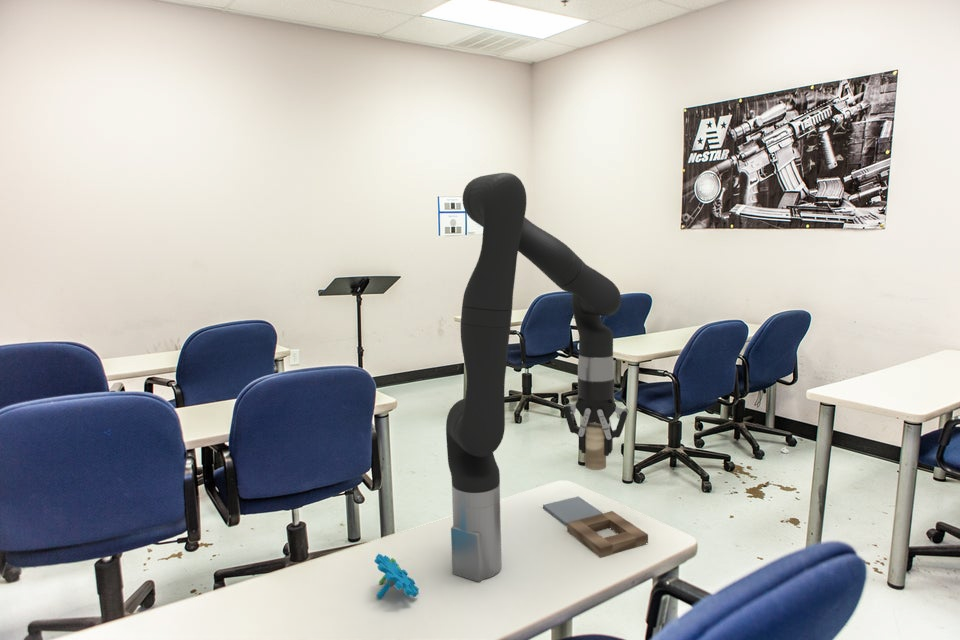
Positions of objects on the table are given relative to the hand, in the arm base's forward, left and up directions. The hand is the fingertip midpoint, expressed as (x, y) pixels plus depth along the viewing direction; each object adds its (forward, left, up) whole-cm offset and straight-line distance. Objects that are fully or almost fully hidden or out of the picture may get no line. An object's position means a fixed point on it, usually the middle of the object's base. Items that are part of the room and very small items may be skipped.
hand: (595, 453), depth 129 cm
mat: (+5, +7, -17) cm, 19 cm away
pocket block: (-2, -3, -17) cm, 18 cm away
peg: (0, 0, -3) cm, 3 cm away
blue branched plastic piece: (-40, +23, -18) cm, 49 cm away
